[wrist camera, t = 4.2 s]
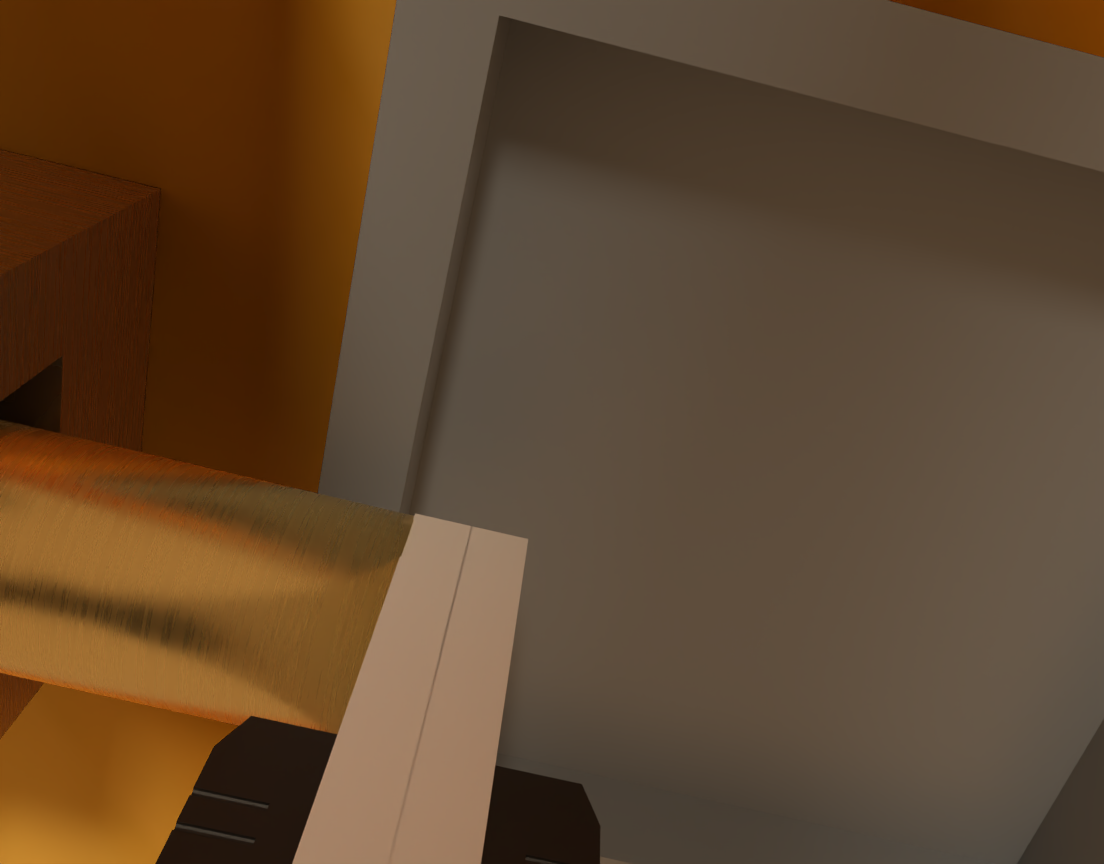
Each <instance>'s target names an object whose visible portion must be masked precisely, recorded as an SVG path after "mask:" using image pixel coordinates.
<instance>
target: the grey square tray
mask: <svg viewBox="0 0 1104 864" xmlns="http://www.w3.org/2000/svg"><path fill="white" fill-rule="evenodd" d="M318 493H319V494H323V495H327V496H331V497H336V498H340V499H344V500H349V501H353V502H357V503H361V504H366V505H370V506H374V507H379V508H383V509H387V510H391V511H396V512H400V513H404V514H409V515H413V516H414V515H415V513H416V514H420V515H424V516H429V517H433V518H438V519H442V520H446V521H451V522H455V523H460V524H464V525H469V526H473V527H477V528H482V529H486V530H491V531H495V532H499V533H504V534H508V535H513V536H517V537H521V538H526V539H528V545H527V551H526V558H525V565H524V572H523V579H522V586H521V593H520V599H519V606H518V613H517V620H516V627H515V634H514V641H513V647H512V654H511V661H510V668H509V675H508V682H507V689H506V695H505V702H504V709H503V716H502V723H501V730H500V736H499V743H498V750H497V757H496V764H495V765H496V766H501V767H506V768H510V769H515V770H519V771H524V772H529V773H533V774H538V775H543V776H547V777H552V778H556V779H561V780H566V781H570V782H575V783H580V784H582V785H583V787H584V790H585V792H586V794H587V796H588V799H589V801H590V803H591V805H592V808H593V810H594V812H595V815H596V817H597V819H598V821H599V824H600V826H601V829H600V864H1104V58H1103V57H1100V56H1096V55H1092V54H1088V53H1085V52H1081V51H1077V50H1073V49H1069V48H1066V47H1062V46H1058V45H1054V44H1051V43H1047V42H1043V41H1039V40H1035V39H1032V38H1028V37H1024V36H1020V35H1017V34H1013V33H1009V32H1005V31H1002V30H998V29H994V28H990V27H986V26H983V25H979V24H975V23H971V22H968V21H964V20H960V19H956V18H952V17H949V16H945V15H941V14H937V13H934V12H930V11H926V10H922V9H919V8H915V7H911V6H907V5H903V4H900V3H896V2H892V1H888V0H397V2H396V9H395V15H394V21H393V27H392V33H391V40H390V46H389V52H388V58H387V65H386V71H385V77H384V83H383V90H382V96H381V102H380V108H379V114H378V121H377V127H376V133H375V139H374V146H373V152H372V158H371V164H370V170H369V177H368V183H367V189H366V195H365V202H364V208H363V214H362V220H361V227H360V233H359V239H358V245H357V251H356V258H355V264H354V270H353V276H352V283H351V289H350V295H349V301H348V308H347V314H346V320H345V326H344V332H343V339H342V345H341V351H340V357H339V364H338V370H337V376H336V382H335V388H334V395H333V401H332V407H331V413H330V420H329V426H328V432H327V438H326V445H325V451H324V457H323V463H322V469H321V476H320V482H319V488H318Z"/></svg>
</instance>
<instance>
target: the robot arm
mask: <svg viewBox="0 0 1104 864" xmlns="http://www.w3.org/2000/svg"><path fill="white" fill-rule="evenodd" d="M413 520H414V521H413V524H412V527H411V530H410V532H409V535H408V538H407V541H406V544H405V547H404V550H403V553H402V556H400V558H399V561H398V564H397V567H396V569H395V572H394V575H393V578H392V581H391V584H390V586H389V589H388V592H387V595H386V598H385V601H384V604H383V606H382V609H381V612H380V615H379V618H378V621H377V623H376V626H375V629H374V632H373V635H372V638H371V641H370V643H369V646H368V649H367V652H366V655H365V658H364V661H363V663H362V666H361V669H360V672H359V675H358V678H357V680H356V683H355V686H354V689H353V692H352V695H351V698H350V700H349V703H348V706H347V709H346V712H345V715H344V718H343V720H342V723H341V726H340V729H339V732H338V734H334V733H329V732H324V731H320V730H315V729H311V728H306V727H301V726H297V725H292V724H287V723H283V722H278V721H274V720H269V719H264V718H260V717H255V716H250V717H249V718H248V719H247V720H246V721H244V722H243V723H242V724H241V725H239V726H238V727H237V728H236V729H235V730H233V731H232V732H231V733H230V734H229V735H227V736H226V737H225V738H224V739H222V740H221V741H220V742H219V743H218V744H216V745H215V746H214V748H213V750H212V752H211V754H210V756H209V758H208V760H207V762H206V764H205V766H204V768H203V770H202V772H201V774H200V776H199V778H198V780H197V782H196V784H195V786H194V789H193V792H192V795H190V796H189V798H188V800H187V802H186V804H185V806H184V808H183V810H182V812H181V814H180V816H179V818H178V820H177V823H176V826H175V829H174V830H172V832H171V834H170V836H169V838H168V840H167V842H166V844H165V846H164V848H163V850H162V852H161V854H160V856H159V858H158V860H157V862H156V864H600V829H601V826H600V824H599V821H598V819H597V817H596V815H595V812H594V810H593V808H592V805H591V803H590V801H589V799H588V796H587V794H586V792H585V790H584V787H583V785H582V784H580V783H575V782H570V781H566V780H561V779H556V778H552V777H547V776H543V775H538V774H533V773H529V772H524V771H519V770H515V769H510V768H506V767H501V766H496V765H495V764H496V757H497V750H498V743H499V736H500V730H501V723H502V716H503V709H504V702H505V695H506V689H507V682H508V675H509V668H510V661H511V654H512V647H513V641H514V634H515V627H516V620H517V613H518V606H519V599H520V593H521V586H522V579H523V572H524V565H525V558H526V551H527V545H528V539H526V538H521V537H517V536H513V535H508V534H504V533H499V532H495V531H491V530H486V529H482V528H477V527H473V526H469V525H464V524H460V523H455V522H451V521H446V520H442V519H438V518H433V517H429V516H424V515H420V514H416V513H415V515H414V518H413Z"/></svg>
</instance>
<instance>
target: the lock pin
mask: <svg viewBox="0 0 1104 864" xmlns="http://www.w3.org/2000/svg"><path fill="white" fill-rule="evenodd" d="M413 518H414V516H413V515H409V514H404V513H400V512H396V511H391V510H387V509H383V508H379V507H374V506H370V505H366V504H361V503H357V502H353V501H349V500H344V499H340V498H336V497H331V496H327V495H323V494H319V493H314V492H310V491H306V490H301V489H297V488H293V487H288V486H284V485H280V484H276V483H271V482H267V481H263V480H258V479H254V478H250V477H246V476H241V475H237V474H233V473H228V472H224V471H220V470H216V469H211V468H207V467H203V466H198V465H194V464H190V463H186V462H181V461H177V460H173V459H168V458H164V457H160V456H155V455H151V454H147V453H143V452H138V451H134V450H130V449H125V448H121V447H117V446H113V445H108V444H104V443H100V442H95V441H91V440H87V439H83V438H78V437H74V436H70V435H65V434H61V433H57V432H53V431H48V430H44V429H40V428H35V427H31V426H27V425H22V424H18V423H14V422H10V421H5V420H1V419H0V673H3V674H7V675H12V676H17V677H21V678H26V679H30V680H35V681H39V682H44V683H48V684H53V685H57V686H62V687H66V688H71V689H75V690H80V691H84V692H89V693H94V694H98V695H103V696H107V697H112V698H116V699H121V700H125V701H130V702H134V703H139V704H143V705H148V706H152V707H157V708H161V709H166V710H171V711H175V712H180V713H184V714H189V715H193V716H198V717H202V718H207V719H211V720H216V721H220V722H225V723H229V724H234V725H241V724H242V723H243V722H244V721H246V720H247V719H248V718H249V717H250V716H255V717H260V718H264V719H269V720H274V721H278V722H283V723H287V724H292V725H297V726H301V727H306V728H311V729H315V730H320V731H324V732H329V733H334V734H338V732H339V729H340V726H341V723H342V720H343V718H344V715H345V712H346V709H347V706H348V703H349V700H350V698H351V695H352V692H353V689H354V686H355V683H356V680H357V678H358V675H359V672H360V669H361V666H362V663H363V661H364V658H365V655H366V652H367V649H368V646H369V643H370V641H371V638H372V635H373V632H374V629H375V626H376V623H377V621H378V618H379V615H380V612H381V609H382V606H383V604H384V601H385V598H386V595H387V592H388V589H389V586H390V584H391V581H392V578H393V575H394V572H395V569H396V567H397V564H398V561H399V558H400V556H402V553H403V550H404V547H405V544H406V541H407V538H408V535H409V532H410V530H411V527H412V524H413V521H414V520H413Z"/></svg>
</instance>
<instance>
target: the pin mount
mask: <svg viewBox="0 0 1104 864" xmlns="http://www.w3.org/2000/svg"><path fill="white" fill-rule="evenodd" d="M160 193H161V189H159V188H155V187H151V186H147V185H143V184H138V183H134V182H130V181H126V180H122V179H118V178H114V177H110V176H106V175H102V174H98V173H94V172H90V171H86V170H82V169H78V168H73V167H69V166H65V165H61V164H57V163H53V162H49V161H45V160H41V159H37V158H33V157H29V156H25V155H21V154H17V153H13V152H9V151H4V150H0V419H1V420H5V421H10V422H14V423H18V424H22V425H27V426H31V427H35V428H40V429H44V430H48V431H53V432H57V433H61V434H65V435H70V436H74V437H78V438H83V439H87V440H91V441H95V442H100V443H104V444H108V445H113V446H117V447H121V448H125V449H130V450H134V451H138V452H141V446H142V432H143V419H144V406H145V392H146V379H147V366H148V352H149V339H150V326H151V313H152V299H153V286H154V273H155V259H156V246H157V233H158V219H159V206H160ZM43 683H44V682H39V681H35V680H30V679H26V678H21V677H17V676H12V675H7V674H3V673H0V739H1V738H2V736H3V735H4V734H5V732H6V731H7V730H8V729H9V727H10V726H11V725H12V723H13V722H14V721H15V720H16V718H17V717H18V716H19V714H20V713H21V712H22V710H23V709H24V708H25V707H26V705H27V704H28V703H29V701H30V700H31V699H32V698H33V696H34V695H35V694H36V692H37V691H38V690H39V688H40V687H41V686H42V685H43Z"/></svg>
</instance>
